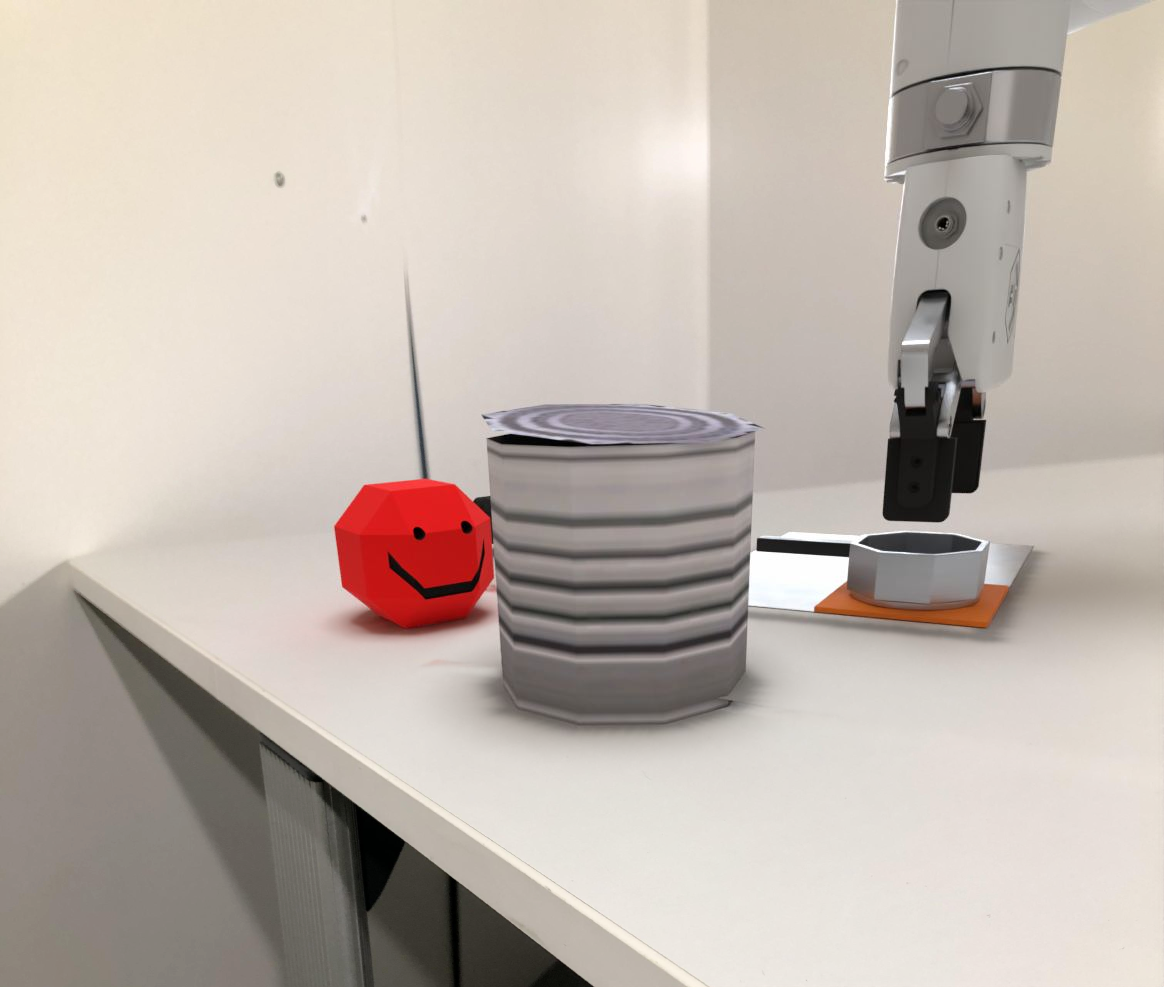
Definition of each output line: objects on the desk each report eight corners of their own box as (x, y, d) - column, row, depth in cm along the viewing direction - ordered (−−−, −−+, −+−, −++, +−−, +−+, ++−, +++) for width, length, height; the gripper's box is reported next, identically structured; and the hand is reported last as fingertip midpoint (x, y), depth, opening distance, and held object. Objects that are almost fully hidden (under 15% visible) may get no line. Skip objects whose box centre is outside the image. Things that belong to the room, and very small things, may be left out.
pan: (987, 587, 56) (995, 535, 54) (969, 615, 50) (976, 558, 49) (775, 571, 61) (777, 524, 60) (737, 595, 56) (739, 543, 55)
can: (694, 640, 51) (698, 397, 46) (791, 708, 40) (809, 406, 36) (481, 662, 48) (461, 408, 43) (528, 742, 38) (510, 421, 33)
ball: (386, 643, 52) (369, 498, 49) (334, 615, 58) (316, 484, 55) (513, 618, 56) (505, 483, 53) (452, 594, 62) (441, 472, 59)
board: (788, 539, 76) (788, 531, 76) (1033, 553, 68) (1034, 545, 68) (665, 607, 57) (665, 597, 57) (985, 639, 49) (987, 628, 49)
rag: (854, 578, 60) (855, 574, 60) (1008, 590, 56) (1009, 585, 56) (813, 611, 53) (814, 606, 53) (986, 628, 49) (987, 622, 49)
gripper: (1035, 89, 37) (982, 537, 44) (1069, 150, 51) (1024, 484, 58) (842, 120, 40) (821, 531, 47) (922, 169, 54) (897, 482, 61)
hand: (933, 505), depth 52 cm, fingers open, 9 cm apart
